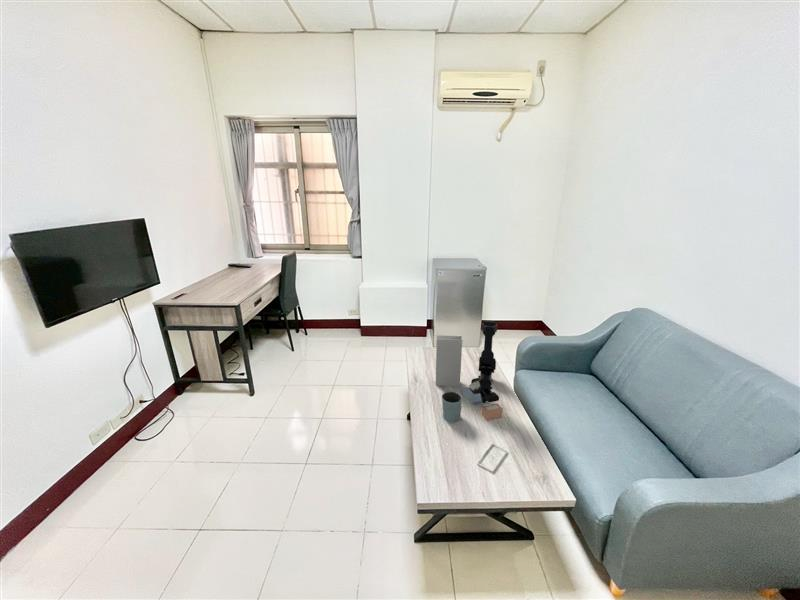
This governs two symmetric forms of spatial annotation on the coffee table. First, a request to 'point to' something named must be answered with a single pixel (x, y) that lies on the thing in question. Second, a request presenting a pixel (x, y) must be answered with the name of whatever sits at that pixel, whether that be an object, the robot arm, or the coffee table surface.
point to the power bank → (498, 462)
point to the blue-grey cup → (451, 406)
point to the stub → (491, 411)
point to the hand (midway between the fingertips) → (483, 403)
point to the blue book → (472, 396)
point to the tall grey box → (448, 360)
